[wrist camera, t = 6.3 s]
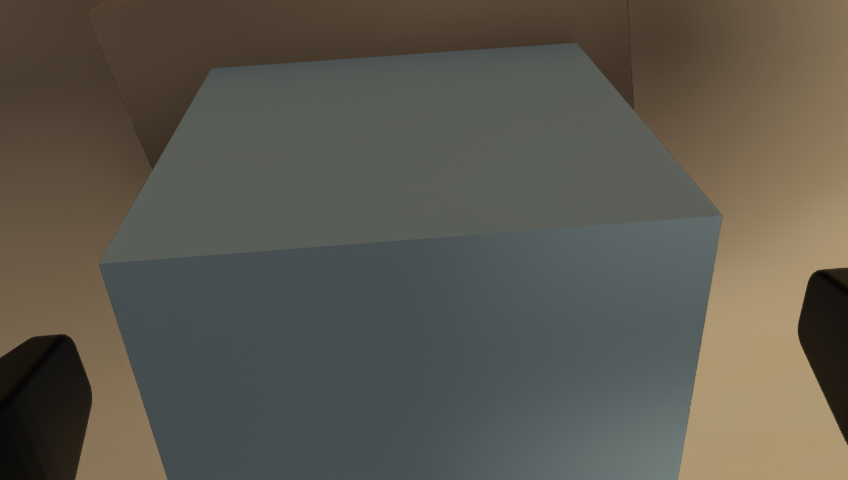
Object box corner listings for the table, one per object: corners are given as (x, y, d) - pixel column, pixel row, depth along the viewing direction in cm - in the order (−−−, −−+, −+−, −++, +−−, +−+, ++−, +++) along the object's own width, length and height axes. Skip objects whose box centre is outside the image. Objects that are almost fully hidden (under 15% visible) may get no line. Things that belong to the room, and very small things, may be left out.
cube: (561, 332, 13) (658, 598, 9) (268, 356, 13) (218, 639, 9) (576, 42, 10) (723, 216, 6) (211, 67, 10) (98, 264, 6)
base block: (588, 217, 16) (646, 329, 13) (276, 280, 17) (252, 406, 13) (553, -133, 13) (621, -106, 10) (159, -44, 13) (85, 13, 10)
